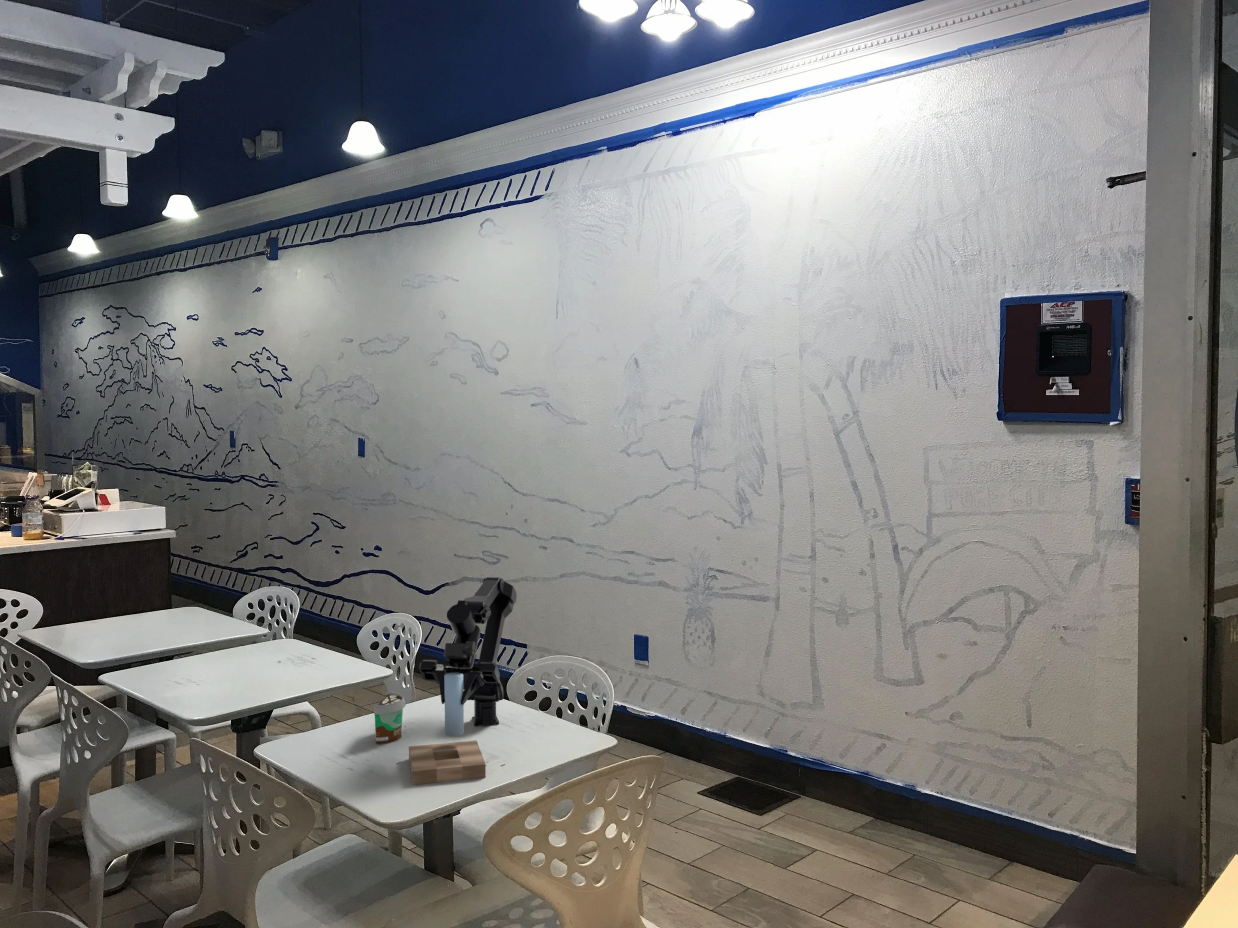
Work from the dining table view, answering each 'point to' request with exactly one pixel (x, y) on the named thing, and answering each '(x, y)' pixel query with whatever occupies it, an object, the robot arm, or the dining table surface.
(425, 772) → the pocket block
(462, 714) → the peg
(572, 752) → the dining table surface
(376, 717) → the food container
